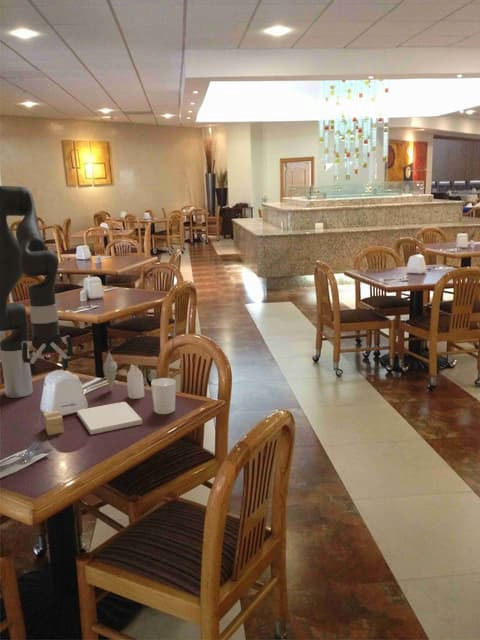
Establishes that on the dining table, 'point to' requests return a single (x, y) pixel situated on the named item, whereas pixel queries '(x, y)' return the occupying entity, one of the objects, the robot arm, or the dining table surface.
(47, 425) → the oak block
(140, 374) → the white pointed crystal
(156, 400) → the white cup
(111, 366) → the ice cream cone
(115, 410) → the platter
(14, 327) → the robot arm
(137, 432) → the dining table surface
